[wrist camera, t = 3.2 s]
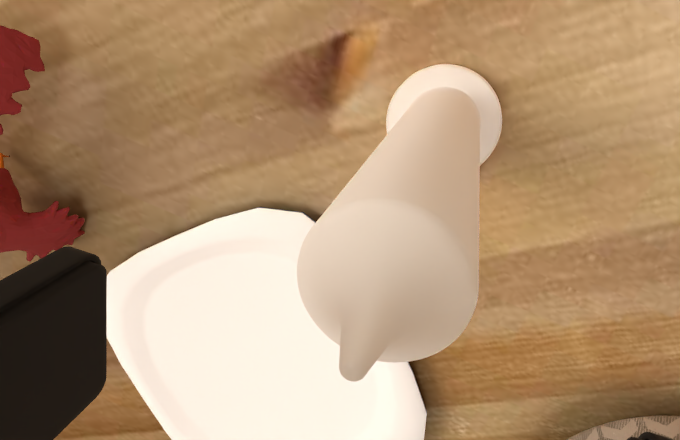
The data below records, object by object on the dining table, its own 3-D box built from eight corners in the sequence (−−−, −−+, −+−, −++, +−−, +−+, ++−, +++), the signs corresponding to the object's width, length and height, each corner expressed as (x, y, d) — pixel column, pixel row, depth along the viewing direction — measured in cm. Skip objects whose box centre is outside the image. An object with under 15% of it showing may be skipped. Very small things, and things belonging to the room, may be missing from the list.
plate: (218, 489, 50) (210, 503, 49) (78, 275, 44) (64, 284, 43) (459, 448, 41) (458, 464, 39) (320, 169, 35) (313, 176, 33)
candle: (441, 38, 30) (322, 96, 7) (527, 118, 30) (660, 403, 8) (365, 125, 33) (120, 353, 11) (444, 197, 33) (369, 563, 11)
